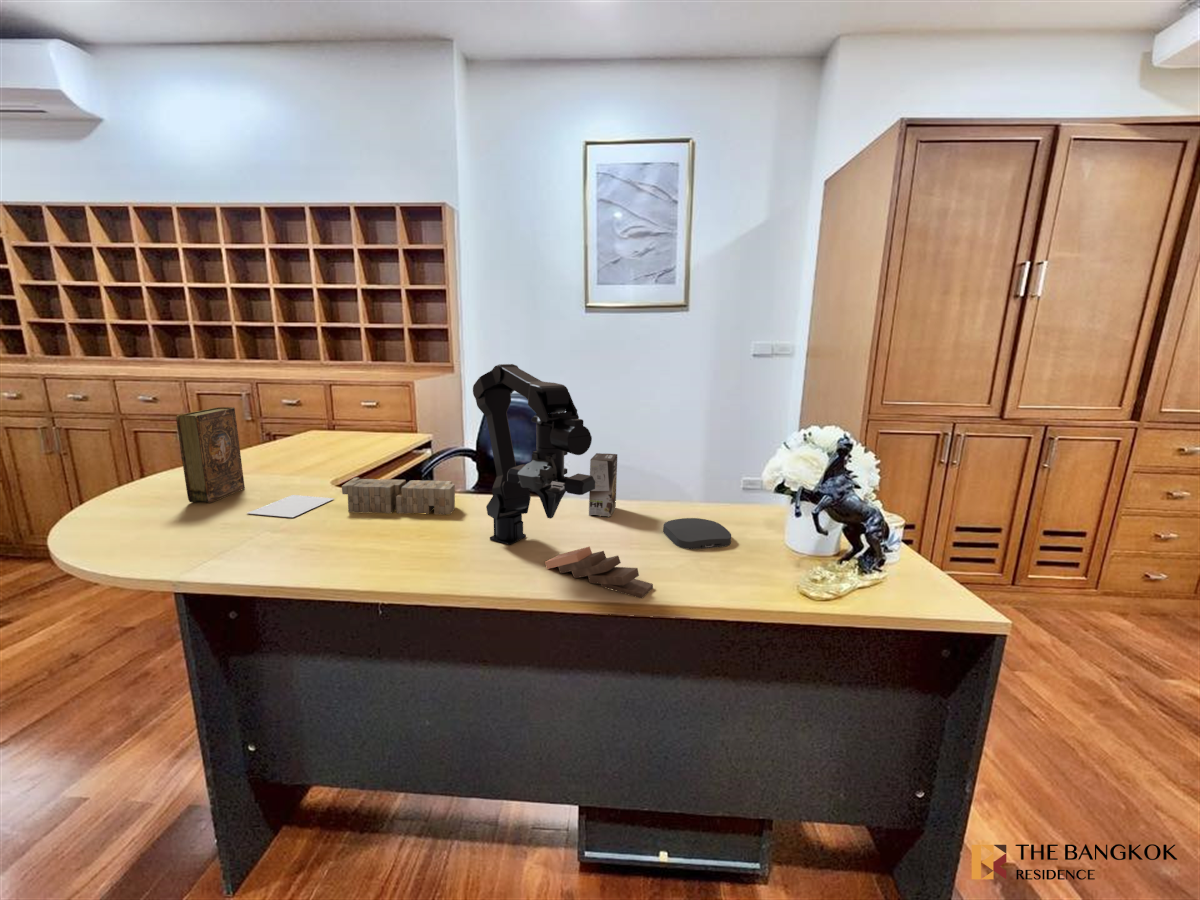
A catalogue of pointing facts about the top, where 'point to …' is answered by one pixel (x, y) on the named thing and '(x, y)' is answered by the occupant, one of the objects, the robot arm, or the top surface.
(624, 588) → the walnut domino
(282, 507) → the paper stack
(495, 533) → the robot arm
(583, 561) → the walnut domino
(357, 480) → the block tower
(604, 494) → the coffee box
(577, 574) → the walnut domino
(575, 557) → the terracotta domino
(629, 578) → the walnut domino
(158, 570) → the top surface
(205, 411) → the book
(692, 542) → the media streaming box
